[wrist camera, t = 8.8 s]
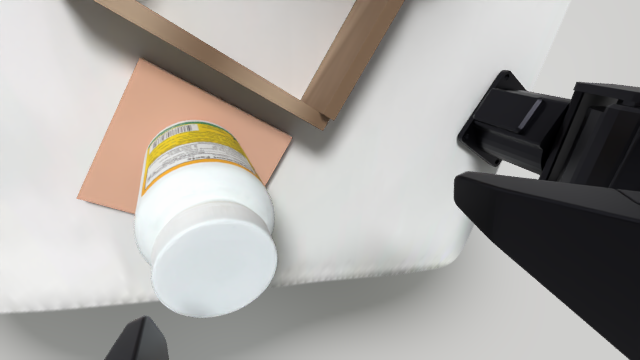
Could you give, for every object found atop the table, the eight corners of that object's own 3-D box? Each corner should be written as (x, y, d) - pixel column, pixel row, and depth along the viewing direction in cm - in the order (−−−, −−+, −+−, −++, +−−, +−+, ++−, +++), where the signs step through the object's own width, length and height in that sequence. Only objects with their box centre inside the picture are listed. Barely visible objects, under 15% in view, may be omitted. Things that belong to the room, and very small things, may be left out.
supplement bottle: (162, 102, 16) (158, 176, 8) (257, 137, 19) (322, 218, 11) (130, 193, 17) (101, 333, 10) (224, 213, 20) (262, 335, 12)
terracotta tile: (289, 134, 20) (292, 137, 20) (232, 235, 22) (234, 240, 21) (140, 57, 16) (139, 58, 15) (79, 193, 17) (76, 198, 16)
